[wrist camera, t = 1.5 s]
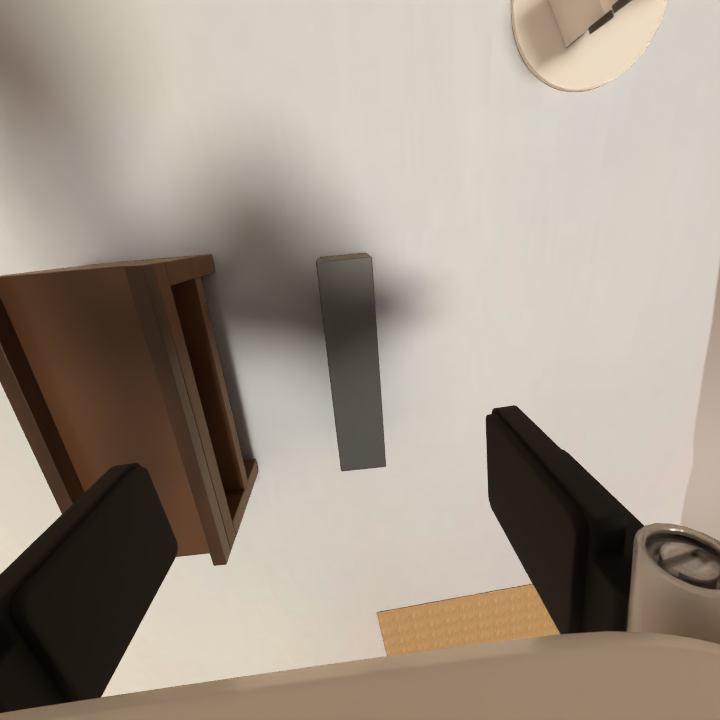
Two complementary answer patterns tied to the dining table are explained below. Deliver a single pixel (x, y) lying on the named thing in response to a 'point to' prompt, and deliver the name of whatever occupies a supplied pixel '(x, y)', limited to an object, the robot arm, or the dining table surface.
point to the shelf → (127, 389)
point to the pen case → (353, 358)
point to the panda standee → (583, 38)
